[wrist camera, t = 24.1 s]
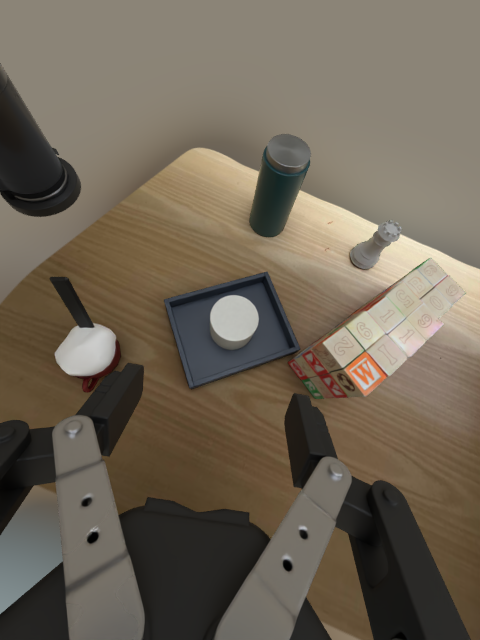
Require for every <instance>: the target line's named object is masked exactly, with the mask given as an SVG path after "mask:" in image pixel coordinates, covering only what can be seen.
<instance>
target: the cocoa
mask: <svg viewBox="0 0 480 640" xmlns="http://www.w3.org/2000/svg"><path fill="white" fill-rule="evenodd" d="M50 281H51V282H52V284H53V285H54V287H55V289H56V290H57V292H58V294H59V295H60V297H61V298H62V300H63V302H64V303H65V305H66V307H67V308H68V310H69V311H70V313H71V315H72V316H73V318H74V319H75V321H76V323H77V324H78V326H76V327H74V328H73V329H72V330H71V331H70V333H69V334H68V336H67V338H66V339H65V340H64V341H63V342H62V343H61V345H60V346H59V348H58V349H57V351H56V352H55V358H56V362H57V364H58V365H60V367H61V369H62V370H64V371H65V372H66V373H67V374H69V375H71V376H76V377H78V378H81V379H84V380H83V384H82V389H83V391H84V392H91V391H92V390H93V389H94V387H95V385H96V383H97V381H98V380H99V378H100V377H103V376H105V375H107V374H109V373H111V372H112V371H113V369H114V368H115V367H116V366H117V365H118V362H119V360H120V357H121V353H120V345H119V342H118V341H117V340H116V335H115V334H114V333H113V332H112V331H111V329H108V328H106V327H104V326H102V325H99V324H95V323H92V321H91V319H90V317H89V316H88V314H87V312H86V310H85V308H84V306H83V305H82V303H81V301H80V299H79V297H78V295H77V294H76V292H75V290H74V288H73V286H72V284H71V283H70V281H69V279H68V278H67V277H50ZM90 379H92V382H91V384H90V386H89V387H88V383H89V381H90Z"/></svg>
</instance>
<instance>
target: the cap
mask: <svg viewBox="0 0 480 640" xmlns="http://www.w3.org/2000/svg"><path fill="white" fill-rule="evenodd" d="M258 322H259V316H258V312H257V310H256V308H255V306H254V305H253V304H252V303H251V302H250V301H249V300H248V299H246V298H244V297H241V296H237V295H230V296H226V297H223V298H221V299H220V300H218V301H217V302H216V303H215V304H214V306H213V308H212V310H211V314H210V333H211V337H212V339H213V340H214V342H215V343H216V344H217V345H218V346H220V347H222V348H224V349H227V350H236V349H239V348H242V347H243V346H245V345H246V344H247V343H248V342H249V340H250V339H251V337H252V335H253V334H254V332H255V330H256V329H257V326H258Z"/></svg>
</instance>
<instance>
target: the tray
mask: <svg viewBox="0 0 480 640" xmlns="http://www.w3.org/2000/svg"><path fill="white" fill-rule="evenodd" d="M230 295H237V296H241V297H244V298H246V299H248V300H249V301H250V302H251V303H252V304H253V305H254V306H255V308H256V310H257V312H258V316H259V322H258V326H257V329H256V330H255V332H254V334H253V335H252V337H251V339H250V340H249V342H248V343H247V344H246V345H245V346H243V347H242V348H239V349H236V350H227V349H224V348H222V347H220V346H218V345H217V344H216V343H215V342H214V340H213V339H212V337H211V333H210V314H211V310H212V308H213V306H214V304H215V303H216V302H217V301H218V300H220V299H221V298H223V297H226V296H230ZM164 302H165V306H166V309H167V312H168V316H169V319H170V323H171V326H172V330H173V333H174V336H175V340H176V343H177V347H178V350H179V354H180V357H181V361H182V364H183V367H184V371H185V374H186V378H187V381H188V385H189V388H190V389H194V388H197V387H200V386H202V385H205V384H208V383H211V382H214V381H217V380H220V379H222V378H225V377H228V376H231V375H234V374H237V373H240V372H242V371H245V370H248V369H251V368H254V367H257V366H260V365H262V364H265V363H268V362H271V361H274V360H277V359H280V358H282V357H285V356H288V355H291V354H294V353H296V352H297V351H299V350H300V347H299V345H298V342H297V340H296V338H295V335H294V333H293V331H292V328H291V326H290V324H289V321H288V319H287V316H286V314H285V312H284V309H283V307H282V305H281V302H280V300H279V298H278V295H277V293H276V291H275V288H274V286H273V284H272V281H271V279H270V276H269V274H268V272H264V273H260V274H257V275H253V276H249V277H245V278H242V279H238V280H234V281H231V282H227V283H223V284H220V285H216V286H212V287H208V288H205V289H201V290H197V291H194V292H190V293H186V294H182V295H179V296H175V297H171V298H168V299H164Z"/></svg>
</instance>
